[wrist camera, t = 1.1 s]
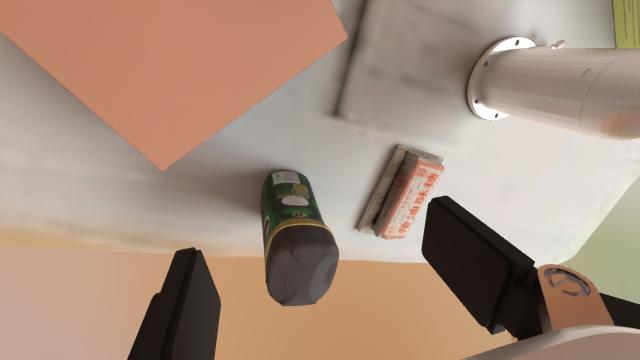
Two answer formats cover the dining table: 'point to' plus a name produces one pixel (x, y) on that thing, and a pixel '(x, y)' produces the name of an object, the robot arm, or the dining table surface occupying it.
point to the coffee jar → (295, 241)
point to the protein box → (627, 23)
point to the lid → (171, 59)
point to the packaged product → (401, 193)
